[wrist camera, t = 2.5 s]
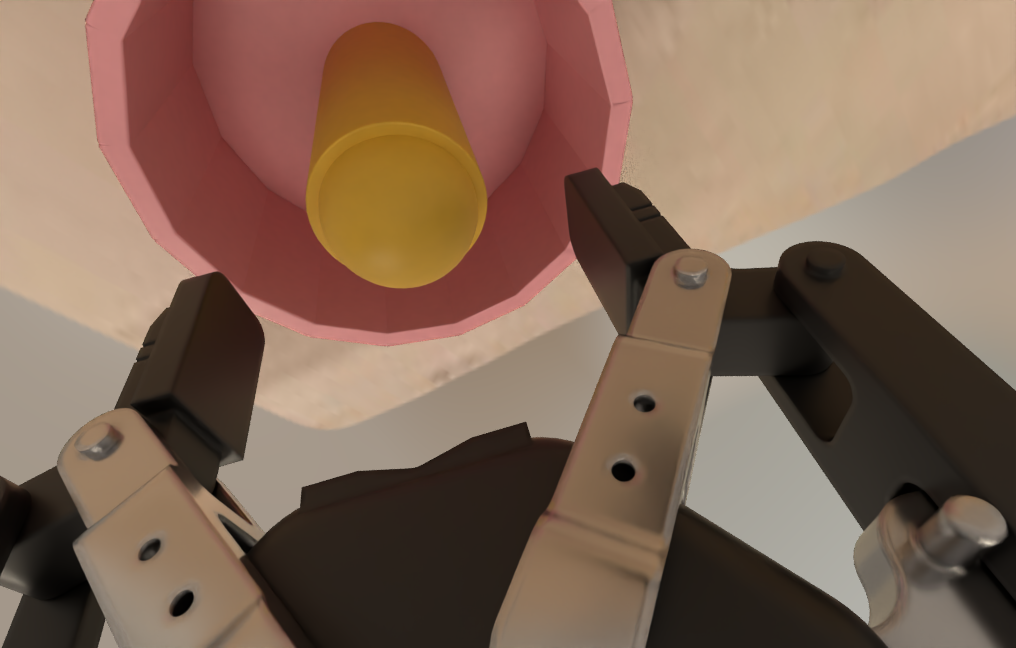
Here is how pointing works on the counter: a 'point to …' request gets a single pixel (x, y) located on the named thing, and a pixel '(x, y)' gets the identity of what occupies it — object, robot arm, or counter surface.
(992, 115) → the counter surface
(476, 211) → the yellow rounded cylinder
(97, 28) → the pot
